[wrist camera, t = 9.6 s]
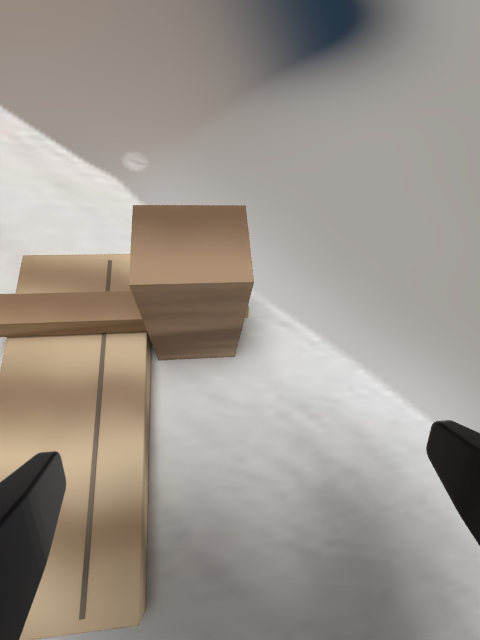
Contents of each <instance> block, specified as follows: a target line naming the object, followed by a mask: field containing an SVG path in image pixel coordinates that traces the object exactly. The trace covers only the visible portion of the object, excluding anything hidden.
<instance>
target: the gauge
mask: <svg viewBox="0 0 480 640" xmlns="http://www.w3.org/2000/svg"><path fill="white" fill-rule="evenodd" d="M253 283H254V278H253V269H252V260H251V251H250V242H249V233H248V225H247V214H246V206H209V205H208V206H207V205H206V206H203V205H201V206H199V205H198V206H197V205H195V206H194V205H189V206H188V205H187V206H185V205H184V206H183V205H180V206H179V205H161V206H160V205H133V215H132V235H131V255H130V274H129V286H130V289H131V291H109V292H70V293H31V294H0V337H11V336H37V335H63V334H89V333H114V332H140V331H147V332H148V335H149V337H150V340H151V342H152V345H153V347H154V350H155V352H156V355H157V357H158V360H174V359H195V358H215V357H235V353H236V349H237V345H238V341H239V338H240V334H241V330H242V326H243V322H244V318H248V303H249V299H250V295H251V291H252V287H253Z"/></svg>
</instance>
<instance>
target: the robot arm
mask: <svg viewBox="0 0 480 640" xmlns="http://www.w3.org/2000/svg"><path fill="white" fill-rule="evenodd" d="M426 450H427V455H428V457H429V459H430V461H431V463H432V465H433V467H434V469H435V471H436V472H437V474H438V476H439V478H440V480H441V482H442V484H443V485H444V487H445V489H446V491H447V493H448V495H449V497H450V498H451V500H452V502H453V504H454V506H455V507H456V509H457V511H458V513H459V514H460V516H461V518H462V519H463V521H464V523H465V524H466V526H467V527H468V529H469V530H470V532H471V533H472V535H473V536H474V538H475V539H476V541H477V542H478V544H479V545H480V433H478V432H476V431H474V430H471V429H469V428H467V427H465V426H463V425H460V424H458V423H456V422H454V421H450V420H446V421H436V422H434V423H433V424H432V427H431V430H430V434H429V439H428V443H427V447H426ZM65 490H66V477H65V472H64V468H63V464H62V459H61V456H60V454H59V452H57V451H51V452H41V453H38V454H36V455H35V456H33V457H32V458H31V459H30V460H28V461H27V462H26V463H24V464H23V465H22V466H20V467H19V468H18V469H17V470H15V471H14V472H13V473H11V474H10V475H9V476H8V477H6V478H5V479H4V480H2V481H1V482H0V640H19V639H20V636H21V634H22V631H23V628H24V625H25V622H26V620H27V617H28V614H29V611H30V609H31V606H32V603H33V600H34V598H35V595H36V592H37V589H38V587H39V584H40V581H41V578H42V576H43V573H44V570H45V567H46V564H47V560H48V557H49V553H50V550H51V546H52V542H53V538H54V534H55V530H56V526H57V522H58V518H59V514H60V510H61V506H62V502H63V498H64V494H65Z"/></svg>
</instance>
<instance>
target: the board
mask: <svg viewBox="0 0 480 640" xmlns="http://www.w3.org/2000/svg"><path fill="white" fill-rule="evenodd" d="M130 255H131V254H99V255H26V256H23V258H22V263H21V268H20V274H19V279H18V284H17V289H16V294H31V293H70V292H109V291H131V289H130V286H129V274H130ZM150 371H151V340H150V337H149V335H148V332H147V331H140V332H114V333H89V334H63V335H37V336H11V337H7V340H6V345H5V350H4V356H3V361H2V366H1V371H0V482H1V481H2V480H4V479H5V478H6V477H8V476H9V475H10V474H11V473H13V472H14V471H15V470H17V469H18V468H19V467H20V466H22V465H23V464H24V463H26V462H27V461H28V460H30V459H31V458H32V457H33V456H35V455H36V454H38V453H41V452H51V451H57V452H59V454H60V456H61V459H62V464H63V468H64V472H65V477H66V490H65V494H64V498H63V502H62V506H61V510H60V514H59V518H58V522H57V526H56V530H55V534H54V538H53V542H52V546H51V550H50V553H49V557H48V560H47V564H46V567H45V570H44V573H43V576H42V578H41V581H40V584H39V587H38V589H37V592H36V595H35V598H34V600H33V603H32V606H31V609H30V611H29V614H28V617H27V620H26V622H25V625H24V628H23V631H22V634H21V636H20V639H19V640H33V639H41V638H48V637H55V636H63V635H70V634H78V633H85V632H93V631H100V630H108V629H115V628H122V627H130V626H137V625H139V623H140V621H141V619H142V617H143V614H144V612H145V607H146V559H147V512H148V465H149V418H150Z"/></svg>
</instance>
